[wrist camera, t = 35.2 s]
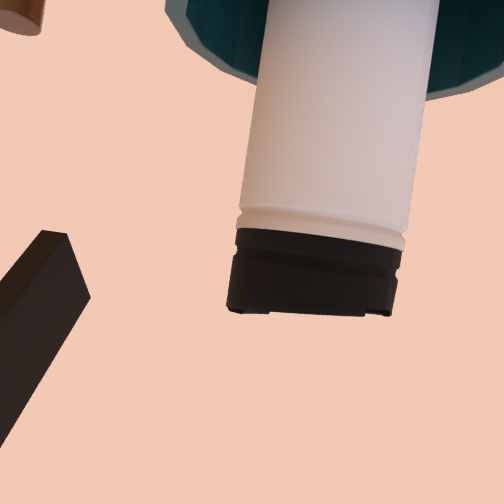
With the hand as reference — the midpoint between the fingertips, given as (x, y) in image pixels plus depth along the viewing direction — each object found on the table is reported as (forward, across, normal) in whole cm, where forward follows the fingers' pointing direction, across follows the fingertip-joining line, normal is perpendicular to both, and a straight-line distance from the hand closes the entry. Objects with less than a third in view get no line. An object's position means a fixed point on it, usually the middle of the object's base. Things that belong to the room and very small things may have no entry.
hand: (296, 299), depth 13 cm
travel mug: (+17, 0, +10) cm, 20 cm away
